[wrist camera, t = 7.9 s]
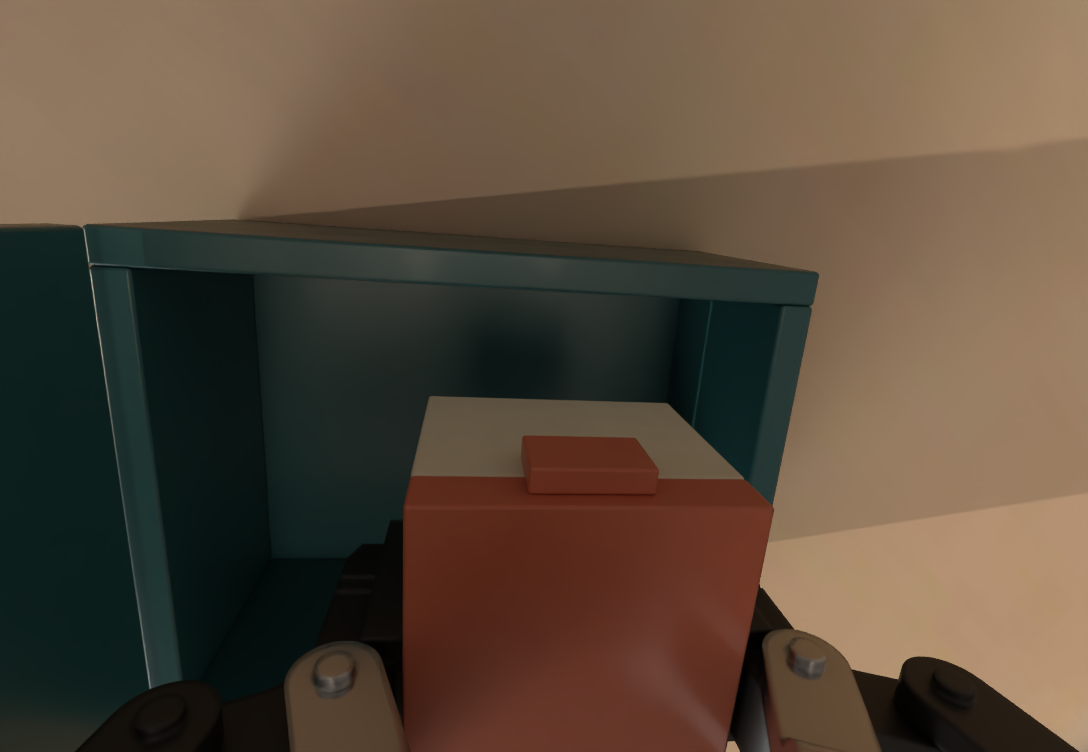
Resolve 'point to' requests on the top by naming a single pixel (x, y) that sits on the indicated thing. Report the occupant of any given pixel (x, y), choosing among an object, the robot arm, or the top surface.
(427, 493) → the snack box
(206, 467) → the lunch tin
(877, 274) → the top surface
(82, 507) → the tin lid
